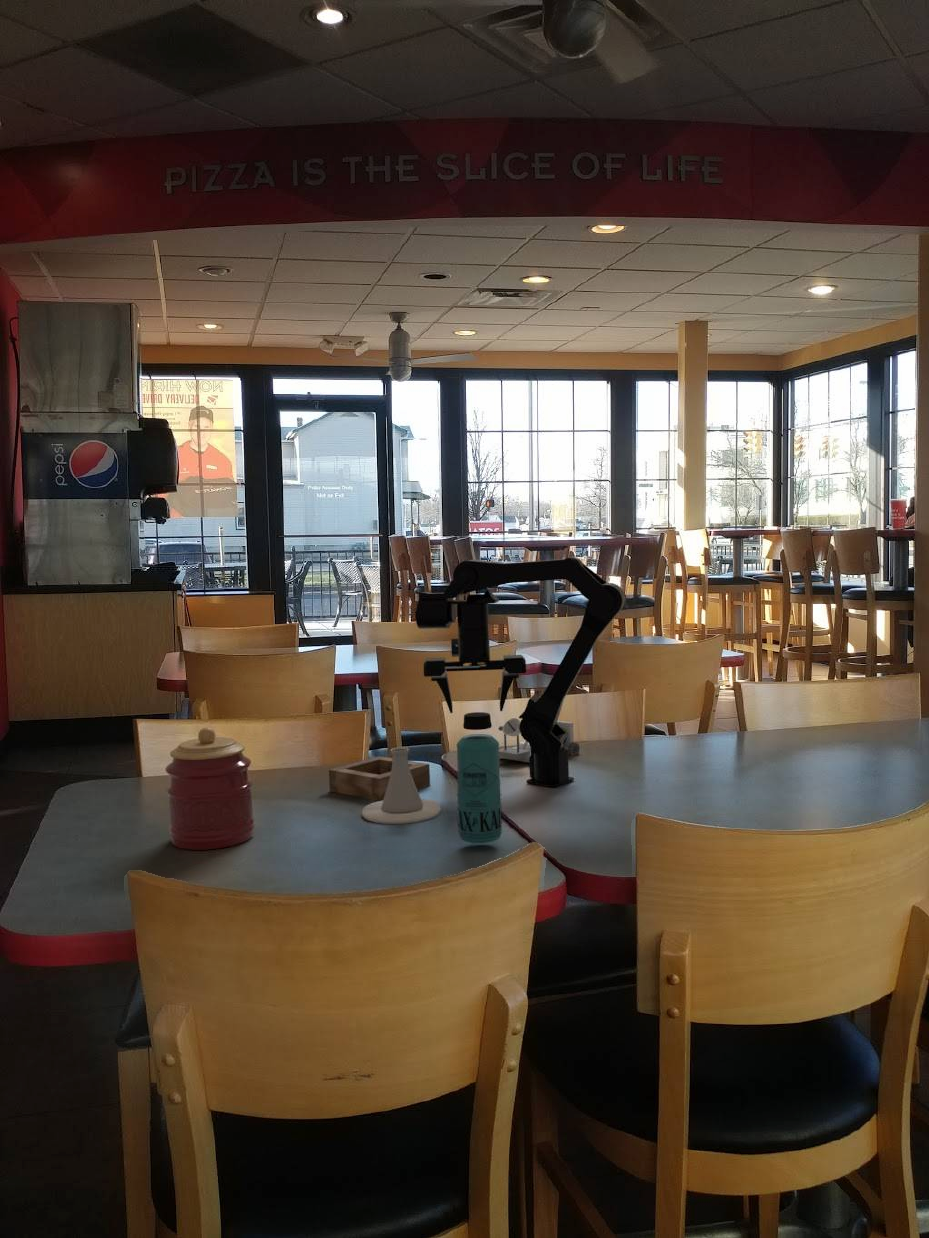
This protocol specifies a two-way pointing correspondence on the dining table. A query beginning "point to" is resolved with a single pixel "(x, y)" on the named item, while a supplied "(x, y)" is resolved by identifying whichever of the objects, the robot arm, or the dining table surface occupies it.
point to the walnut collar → (373, 777)
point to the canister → (209, 793)
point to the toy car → (523, 748)
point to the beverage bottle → (478, 782)
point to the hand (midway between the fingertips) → (476, 711)
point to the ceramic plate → (400, 813)
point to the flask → (401, 785)
